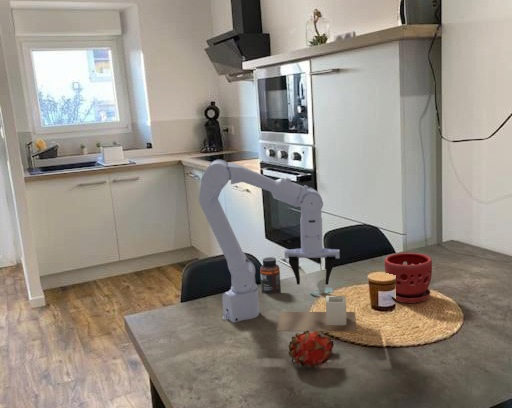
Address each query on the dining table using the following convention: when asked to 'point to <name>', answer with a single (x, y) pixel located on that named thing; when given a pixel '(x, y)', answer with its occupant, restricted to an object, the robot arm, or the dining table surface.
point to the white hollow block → (335, 310)
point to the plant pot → (410, 276)
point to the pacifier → (322, 288)
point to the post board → (313, 322)
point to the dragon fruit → (310, 348)
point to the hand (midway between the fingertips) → (312, 283)
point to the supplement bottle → (270, 276)
